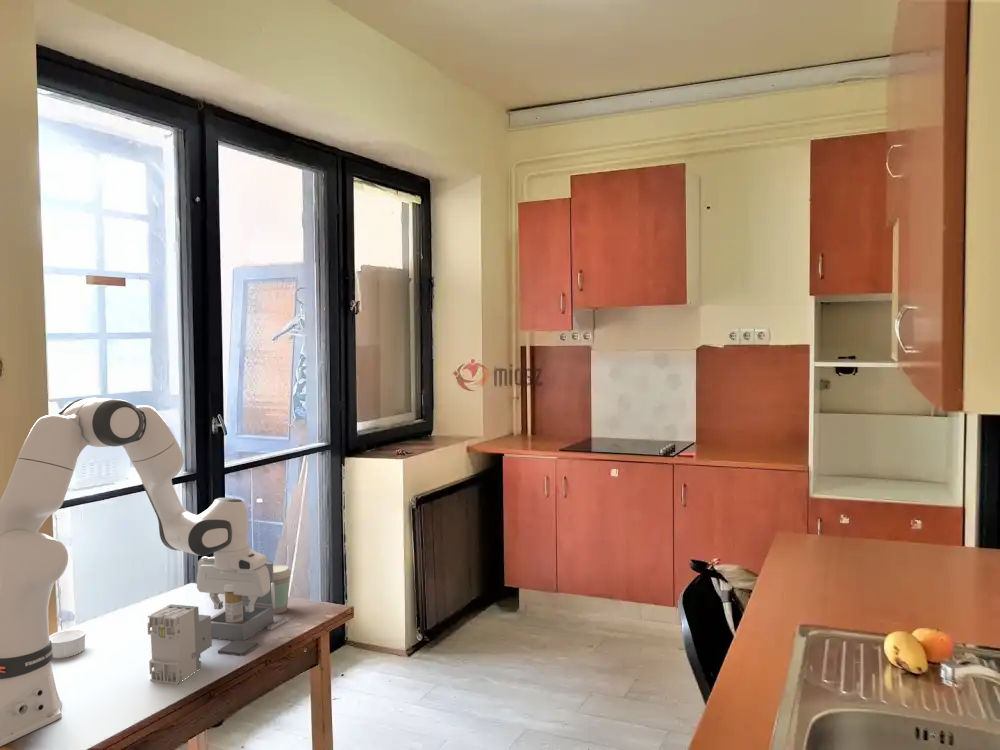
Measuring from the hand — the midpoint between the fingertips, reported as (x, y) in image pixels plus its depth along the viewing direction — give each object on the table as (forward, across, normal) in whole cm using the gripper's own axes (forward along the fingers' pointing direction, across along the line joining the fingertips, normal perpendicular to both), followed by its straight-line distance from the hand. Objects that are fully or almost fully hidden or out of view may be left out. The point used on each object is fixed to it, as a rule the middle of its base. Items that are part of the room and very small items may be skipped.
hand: (234, 610), depth 210 cm
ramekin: (+6, -34, -21) cm, 40 cm away
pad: (+6, +8, -10) cm, 14 cm away
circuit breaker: (+6, +2, -23) cm, 24 cm away
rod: (+6, +8, +7) cm, 13 cm away
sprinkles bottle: (+6, 0, 0) cm, 6 cm away
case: (+6, 0, +2) cm, 6 cm away
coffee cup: (+6, +2, +17) cm, 18 cm away
